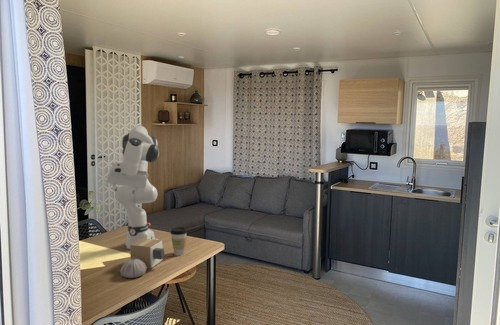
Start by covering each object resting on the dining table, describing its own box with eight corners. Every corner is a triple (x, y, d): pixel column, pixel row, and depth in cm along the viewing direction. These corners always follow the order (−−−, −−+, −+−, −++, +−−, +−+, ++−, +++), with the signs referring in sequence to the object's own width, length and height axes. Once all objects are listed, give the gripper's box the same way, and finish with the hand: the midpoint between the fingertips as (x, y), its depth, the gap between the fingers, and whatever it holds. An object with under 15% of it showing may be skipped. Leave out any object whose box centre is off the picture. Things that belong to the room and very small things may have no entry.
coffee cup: (169, 252, 229) (168, 228, 227) (184, 249, 233) (184, 226, 232) (173, 257, 220) (173, 232, 218) (189, 254, 225) (189, 230, 223)
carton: (142, 258, 219) (141, 238, 217) (161, 260, 216) (160, 239, 214) (130, 266, 207) (130, 244, 206) (150, 268, 204) (149, 246, 203)
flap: (161, 259, 215) (161, 240, 214) (170, 260, 214) (170, 241, 213) (150, 267, 204) (150, 247, 203) (160, 268, 202) (159, 248, 201)
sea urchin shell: (133, 282, 187) (132, 266, 186) (114, 276, 194) (113, 261, 193) (152, 272, 199) (151, 257, 198) (133, 267, 205) (133, 253, 204)
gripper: (149, 169, 204) (143, 192, 208) (109, 163, 196) (104, 186, 200) (150, 174, 199) (144, 197, 203) (109, 168, 191) (104, 192, 195)
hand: (124, 192), depth 201 cm, fingers open, 8 cm apart
